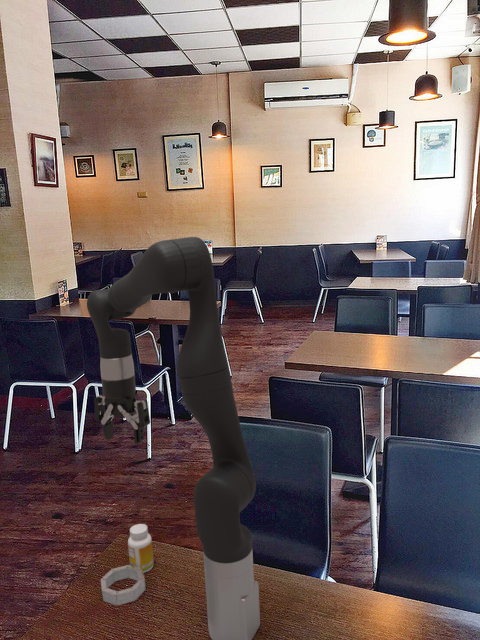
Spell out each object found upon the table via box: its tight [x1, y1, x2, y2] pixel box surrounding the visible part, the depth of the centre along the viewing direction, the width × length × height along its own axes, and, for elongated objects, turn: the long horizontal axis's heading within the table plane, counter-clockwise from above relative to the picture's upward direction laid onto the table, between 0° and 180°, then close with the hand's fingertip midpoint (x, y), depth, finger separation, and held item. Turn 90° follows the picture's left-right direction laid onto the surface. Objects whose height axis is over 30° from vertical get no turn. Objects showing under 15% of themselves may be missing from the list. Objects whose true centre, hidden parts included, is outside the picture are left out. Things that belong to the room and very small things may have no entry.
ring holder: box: [100, 564, 146, 607], centre depth 111 cm, size 9×9×2 cm
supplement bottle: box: [127, 523, 155, 574], centre depth 118 cm, size 5×5×10 cm
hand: (124, 440), depth 121 cm, fingers open, 8 cm apart
